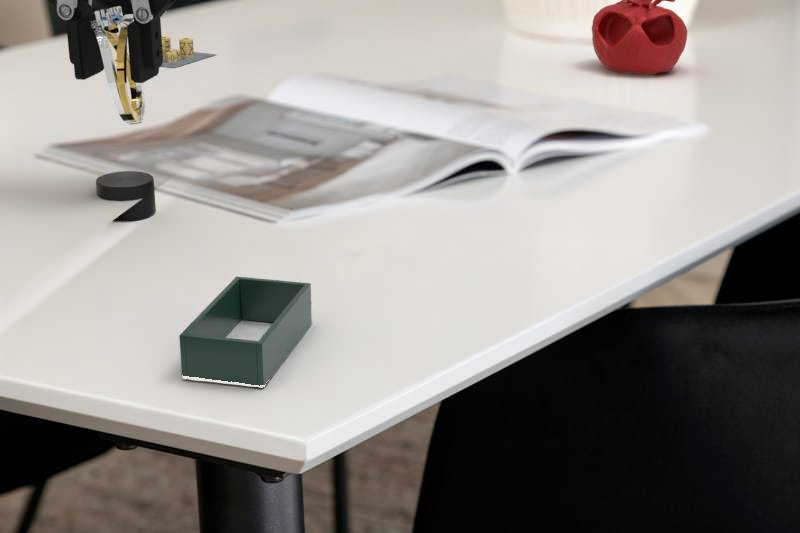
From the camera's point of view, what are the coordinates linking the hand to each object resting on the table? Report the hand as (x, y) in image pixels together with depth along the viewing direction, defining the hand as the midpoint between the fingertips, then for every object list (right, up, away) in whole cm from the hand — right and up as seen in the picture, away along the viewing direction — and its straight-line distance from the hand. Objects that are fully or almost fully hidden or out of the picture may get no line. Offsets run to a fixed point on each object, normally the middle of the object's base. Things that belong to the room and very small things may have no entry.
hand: (117, 74), depth 86 cm
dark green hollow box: (+11, -18, -18) cm, 28 cm away
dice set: (-7, +10, +54) cm, 55 cm away
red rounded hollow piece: (+45, +8, +50) cm, 67 cm away
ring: (+1, -3, +1) cm, 4 cm away
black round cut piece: (0, -9, +3) cm, 10 cm away
